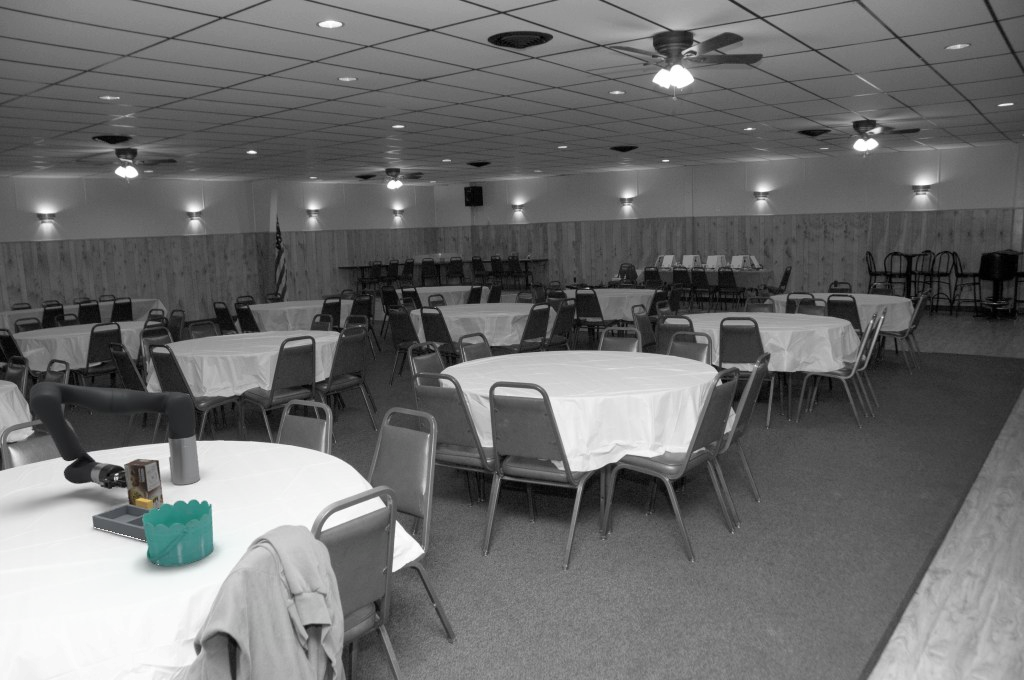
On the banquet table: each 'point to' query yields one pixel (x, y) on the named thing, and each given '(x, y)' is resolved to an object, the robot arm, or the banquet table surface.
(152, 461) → the coffee box
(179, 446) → the robot arm
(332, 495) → the banquet table surface
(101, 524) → the grey divided tray
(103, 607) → the banquet table surface
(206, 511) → the basket
